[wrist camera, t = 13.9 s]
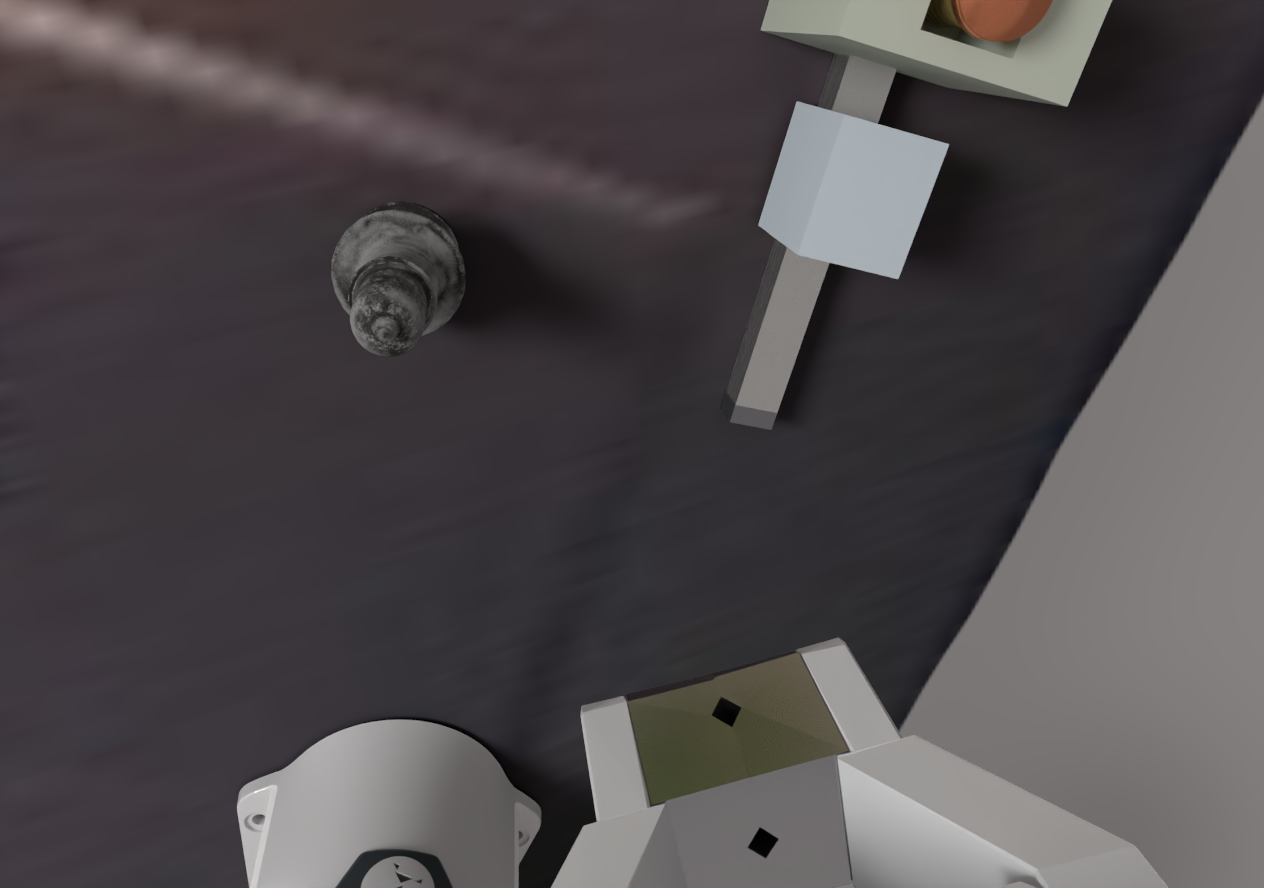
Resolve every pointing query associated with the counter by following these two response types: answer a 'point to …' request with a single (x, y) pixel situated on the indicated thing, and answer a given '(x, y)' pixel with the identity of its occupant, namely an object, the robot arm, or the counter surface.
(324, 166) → the counter surface
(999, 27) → the copper knob
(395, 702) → the counter surface
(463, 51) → the counter surface
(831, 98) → the rail
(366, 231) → the stone chess piece
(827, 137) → the block
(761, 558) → the counter surface
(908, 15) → the block with square hole
